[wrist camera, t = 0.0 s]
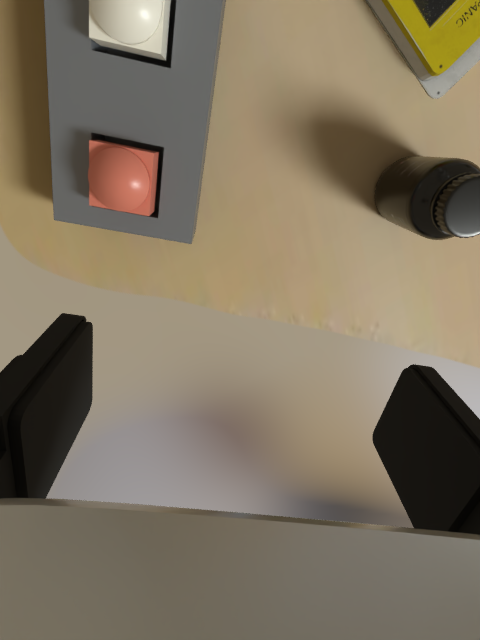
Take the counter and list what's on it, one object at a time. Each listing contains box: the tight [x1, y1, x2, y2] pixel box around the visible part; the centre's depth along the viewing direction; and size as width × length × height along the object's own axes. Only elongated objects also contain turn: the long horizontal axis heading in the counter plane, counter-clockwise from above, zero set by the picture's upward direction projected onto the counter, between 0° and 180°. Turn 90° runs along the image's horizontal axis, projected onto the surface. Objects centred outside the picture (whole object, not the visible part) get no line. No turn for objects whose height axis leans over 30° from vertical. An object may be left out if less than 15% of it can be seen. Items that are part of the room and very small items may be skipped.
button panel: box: [44, 0, 226, 244], centre depth 32 cm, size 22×13×5 cm, turn 169°
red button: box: [88, 140, 159, 216], centre depth 31 cm, size 5×5×3 cm
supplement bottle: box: [375, 156, 480, 240], centre depth 33 cm, size 7×7×12 cm
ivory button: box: [89, 0, 171, 61], centre depth 26 cm, size 5×5×3 cm
